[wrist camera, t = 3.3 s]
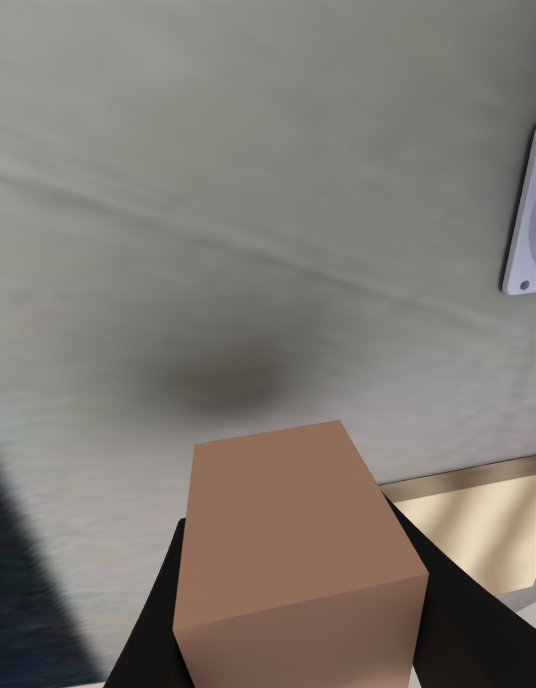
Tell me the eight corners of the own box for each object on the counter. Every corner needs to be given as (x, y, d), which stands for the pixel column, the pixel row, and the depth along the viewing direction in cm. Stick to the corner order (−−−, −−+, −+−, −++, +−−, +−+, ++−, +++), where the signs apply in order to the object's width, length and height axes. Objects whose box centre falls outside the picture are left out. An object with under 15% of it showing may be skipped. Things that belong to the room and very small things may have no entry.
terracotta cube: (339, 420, 11) (428, 572, 6) (339, 519, 13) (407, 691, 8) (194, 444, 10) (172, 630, 6) (218, 543, 12) (216, 741, 8)
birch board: (559, 450, 23) (581, 465, 22) (517, 568, 28) (532, 586, 27) (298, 501, 21) (304, 520, 20) (307, 616, 26) (312, 638, 25)
